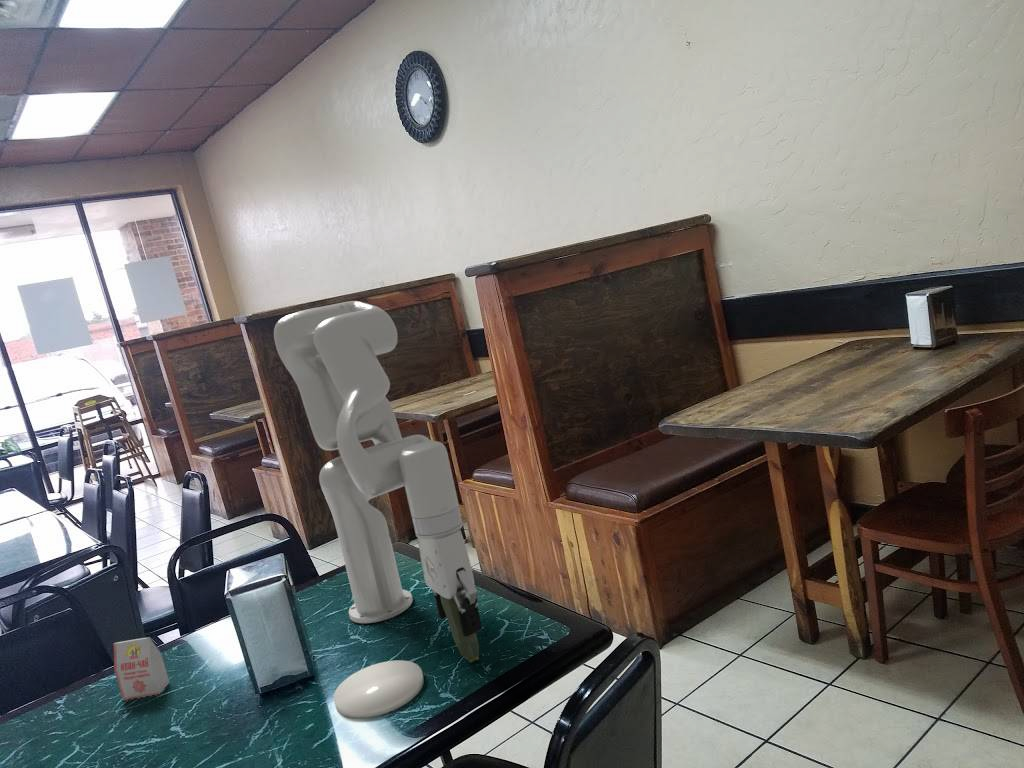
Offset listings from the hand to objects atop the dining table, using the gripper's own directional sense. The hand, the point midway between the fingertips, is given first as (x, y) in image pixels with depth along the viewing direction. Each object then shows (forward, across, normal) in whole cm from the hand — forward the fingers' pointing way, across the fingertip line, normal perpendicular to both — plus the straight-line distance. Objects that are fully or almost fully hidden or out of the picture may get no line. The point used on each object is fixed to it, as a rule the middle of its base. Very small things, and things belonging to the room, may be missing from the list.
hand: (460, 623), depth 124 cm
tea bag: (+7, -39, -46) cm, 61 cm away
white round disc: (+7, -4, -14) cm, 16 cm away
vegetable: (+7, 0, 0) cm, 7 cm away
